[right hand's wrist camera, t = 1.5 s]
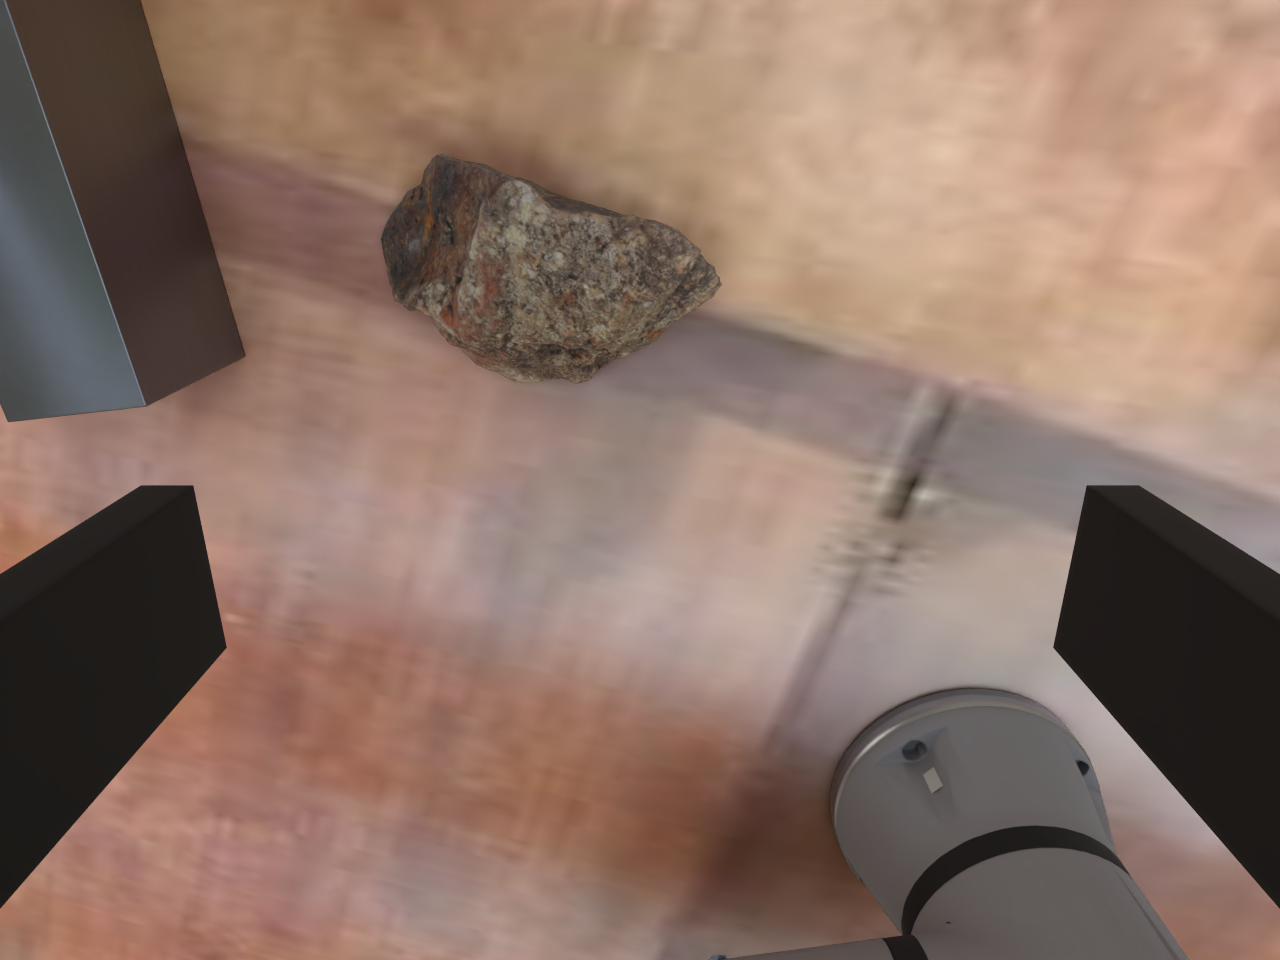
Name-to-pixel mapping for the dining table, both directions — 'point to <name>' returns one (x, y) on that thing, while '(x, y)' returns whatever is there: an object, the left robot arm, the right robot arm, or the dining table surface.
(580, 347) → the rock
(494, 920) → the dining table surface
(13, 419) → the bar
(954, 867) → the right robot arm
